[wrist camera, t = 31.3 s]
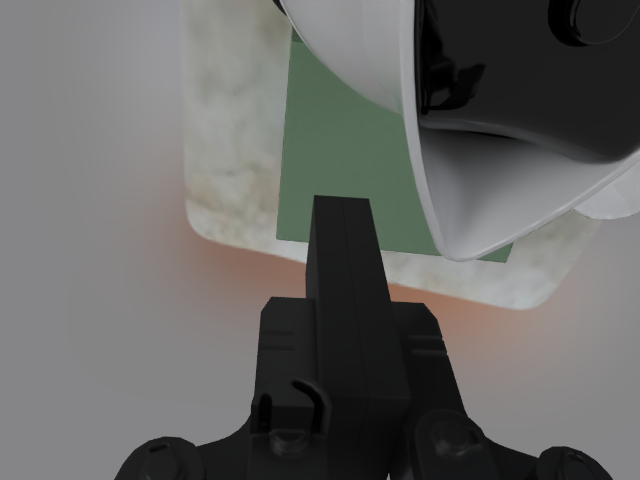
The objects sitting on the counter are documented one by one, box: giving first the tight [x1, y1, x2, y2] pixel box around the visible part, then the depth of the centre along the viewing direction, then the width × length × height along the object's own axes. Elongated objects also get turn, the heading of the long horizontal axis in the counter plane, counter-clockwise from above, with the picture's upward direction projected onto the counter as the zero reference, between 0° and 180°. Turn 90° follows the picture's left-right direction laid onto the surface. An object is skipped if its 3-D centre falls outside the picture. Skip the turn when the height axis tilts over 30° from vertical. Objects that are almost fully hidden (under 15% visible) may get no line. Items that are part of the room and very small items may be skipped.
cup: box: [571, 161, 640, 220], centre depth 35 cm, size 10×10×10 cm
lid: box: [276, 38, 514, 263], centre depth 32 cm, size 15×13×1 cm
